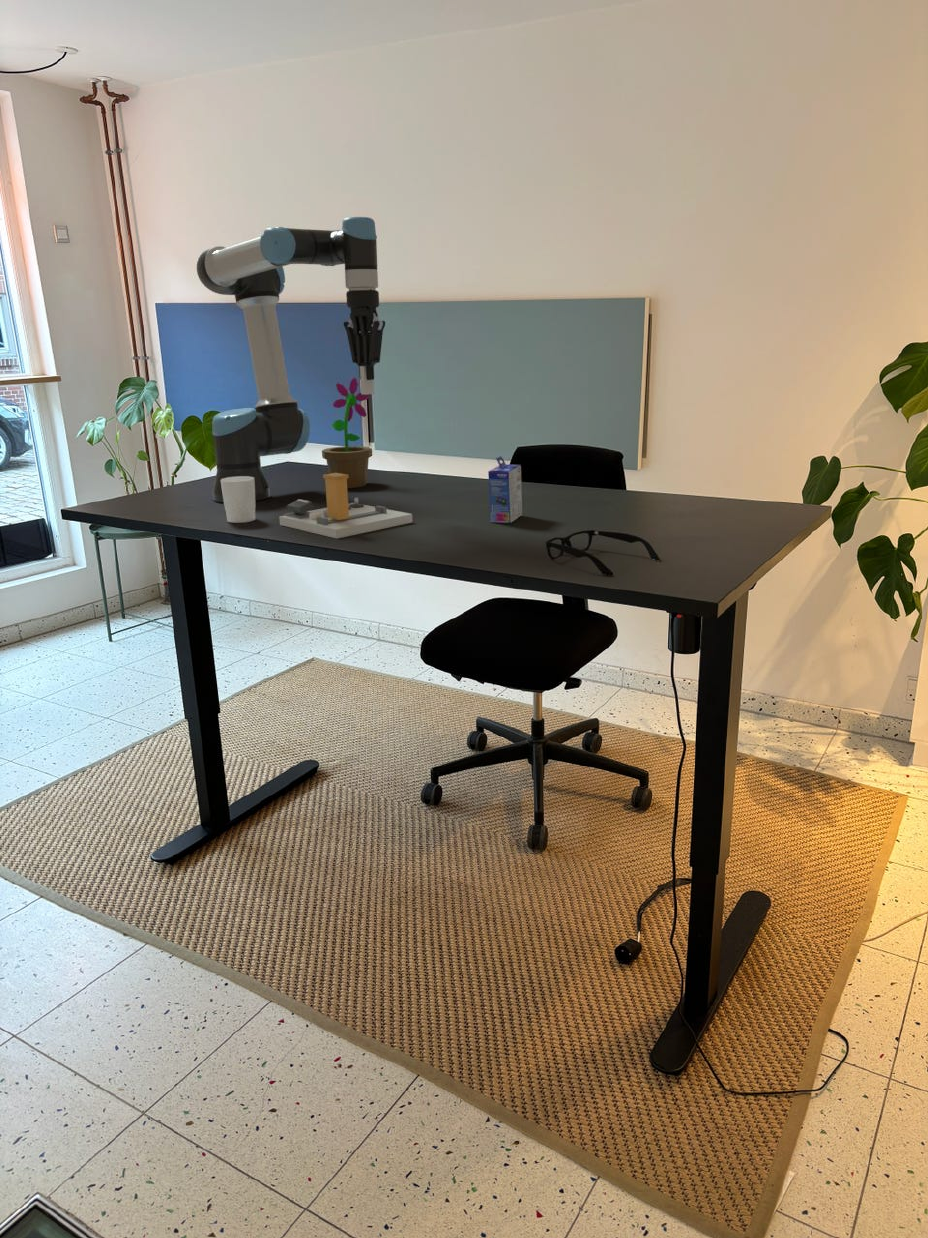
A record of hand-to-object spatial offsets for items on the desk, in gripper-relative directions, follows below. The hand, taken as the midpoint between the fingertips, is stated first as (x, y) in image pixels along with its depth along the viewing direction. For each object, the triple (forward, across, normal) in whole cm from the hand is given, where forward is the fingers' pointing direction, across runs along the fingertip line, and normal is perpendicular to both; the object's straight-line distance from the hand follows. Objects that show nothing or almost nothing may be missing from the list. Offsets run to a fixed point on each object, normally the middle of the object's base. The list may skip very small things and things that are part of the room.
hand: (367, 393), depth 220 cm
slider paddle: (+26, -11, +19) cm, 34 cm away
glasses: (+29, -73, +3) cm, 78 cm away
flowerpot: (+29, +36, -20) cm, 50 cm away
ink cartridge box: (+29, -32, -14) cm, 45 cm away
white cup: (+29, +16, +28) cm, 43 cm away
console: (+28, -7, +14) cm, 32 cm away
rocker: (+24, +1, +21) cm, 32 cm away
